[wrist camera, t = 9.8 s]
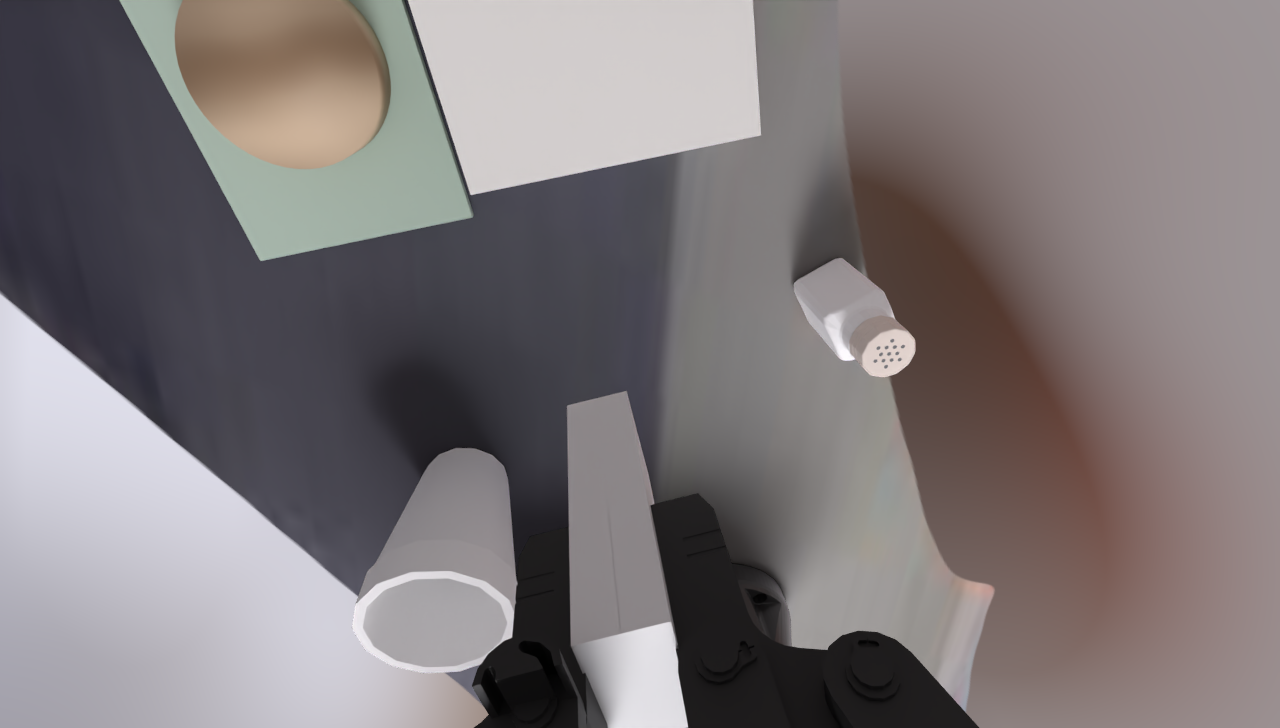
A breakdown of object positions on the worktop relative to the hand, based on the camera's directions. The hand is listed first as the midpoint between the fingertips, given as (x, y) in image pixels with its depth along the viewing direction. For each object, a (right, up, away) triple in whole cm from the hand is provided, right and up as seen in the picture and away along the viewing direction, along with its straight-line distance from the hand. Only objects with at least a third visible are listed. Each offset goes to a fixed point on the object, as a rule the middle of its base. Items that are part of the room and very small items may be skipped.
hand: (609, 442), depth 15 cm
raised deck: (-2, +21, +16) cm, 26 cm away
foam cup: (-13, -7, +31) cm, 34 cm away
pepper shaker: (+14, +7, +27) cm, 31 cm away
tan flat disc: (-17, +17, +16) cm, 29 cm away
